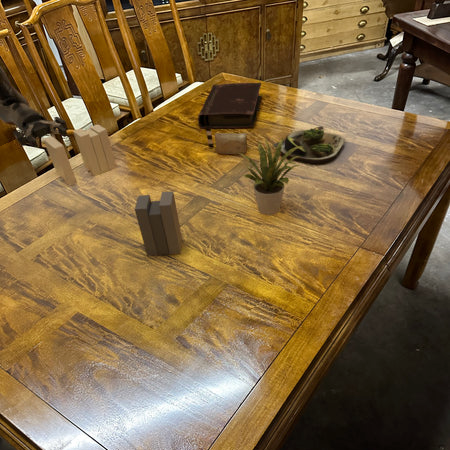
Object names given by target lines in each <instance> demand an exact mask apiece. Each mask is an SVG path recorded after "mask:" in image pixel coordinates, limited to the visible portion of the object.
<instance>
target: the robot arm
mask: <svg viewBox="0 0 450 450" xmlns="http://www.w3.org/2000/svg"><path fill="white" fill-rule="evenodd" d="M53 119H54V120H51V121H50V120H47V118H46V117H44V116H43V115H42V114H41V113H39V112H38V111H37V110H35V109H33V108H32V107H31V105H30V103H29V101H28V100H27V98H26V97H25V96H24V95H23V94H22V93H21V92H19V91H18V90H17V89H16V88H15V86H14V85H13V84H12V82H11V80H10V79H9V77H8V75H7V73H6V72H5V70H4V69H3V67H2V66H1V65H0V120H1V121H2V122H4V123H5V124H7V125H10V126H16V127H17V129H18V130H14V131H12V133H13V134H14V137H15V139H16V141H17V142H18V144H20V146H21V147H24V146H26V144H28V145H30V147H34V148H38V147H39V144H38V143H37V140H40V139H43V138H44V137H45V136H49V135H50V136H55V135H56V134H59V135H60V136H62V137H63V138H66V137H67V135H68V131H69V128H68V125H67V122H66V120H64V119H62V118H61V117H59V116H54V117H53Z"/></svg>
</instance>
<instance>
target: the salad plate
mask: <svg viewBox="0 0 450 450" xmlns="http://www.w3.org/2000/svg"><path fill="white" fill-rule="evenodd" d="M279 142H280V141H278V142H276V143H274V144H273V145H272V148H276V149H277V146H278V144H279ZM344 143H345V140H344V139H343V137H342V136H341V135H338V134H334V133H325V132H324V126H323V125H322V126H321V125H320V126H316V127H314V128H310V129H303V130H302V129H301V130H295V131H293V132H291V133H290V134H289V135H287V136H286V138H285V139H283V142H282V149H281V153H280V154H281V155H282V157H283V156H284V155H285V154H286V153H287V152H288V151H289V150H291V149H293V148H295V147H299V146H303V147H301V148H298V149H296V150H294V151H293V152H292V153H291V154H289V155H288V156H287V157H286V158H285V159H287V160H288V161H289V160H290V159H291V158H293V157H296V156H301V157H297V158H295V159H293V160H292V162H297V163H301V164H308V165H321V164H326V163H328V162H329V161H331V160H333V159H334V158H336V157H337V156H338V154H339V152H340V150H342V147H343V145H344Z"/></svg>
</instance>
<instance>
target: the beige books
mask: <svg viewBox="0 0 450 450" xmlns="http://www.w3.org/2000/svg"><path fill="white" fill-rule="evenodd" d="M72 132H73V136H74V138H75V142H76V144H77V148H78V150H79V153H80V156H81V159H82V162H83V165H84V167H85V168H86V169H87V173H89V174H90V173H91V174H90V175H91V176H92V177H96V176H99V175H101V174H103V173H105V172H109V171H111V170H113V169H115V168H117V167H118V166H117V162H116V159H115V155H114V151H113V148H112V144H111V142H110V138H109V134H108V131H107V129H106V128H105V127H104V126H102V125H100V124H96V125H92V126H90V128H88V129H86V130H84V129H83V128H78V129H75V130H72ZM110 169H111V170H110ZM100 173H101V174H100ZM98 174H99V175H98Z"/></svg>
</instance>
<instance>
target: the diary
mask: <svg viewBox="0 0 450 450" xmlns="http://www.w3.org/2000/svg"><path fill="white" fill-rule="evenodd" d="M261 86H262V82H236V83H235V82H234V83H223V84H213V85H212V86H211V88H210V91H209V92H208V95H207V96H206V98H205V100H204V103H203V105H202V108H201V110H200V111H199V113H198V116H197V122H198V123H197V124H198V126H199V128H200V129H206V128H205V126H210V127H211V129H242V128H253V127H254V126H255V123H256V120H257V119H256V118H257V115H258V112H260V106H261V100H262V95H259V94H260V90H261Z"/></svg>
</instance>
